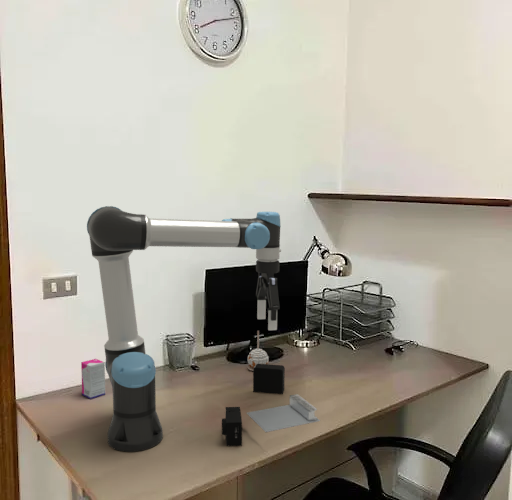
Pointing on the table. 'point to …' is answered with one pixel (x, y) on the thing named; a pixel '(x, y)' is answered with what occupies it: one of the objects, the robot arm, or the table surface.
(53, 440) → the table surface
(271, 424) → the mounting plate
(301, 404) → the rail
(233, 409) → the digital camera
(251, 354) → the decorative ornament
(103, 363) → the supplement box
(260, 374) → the electronic device
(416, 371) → the table surface
